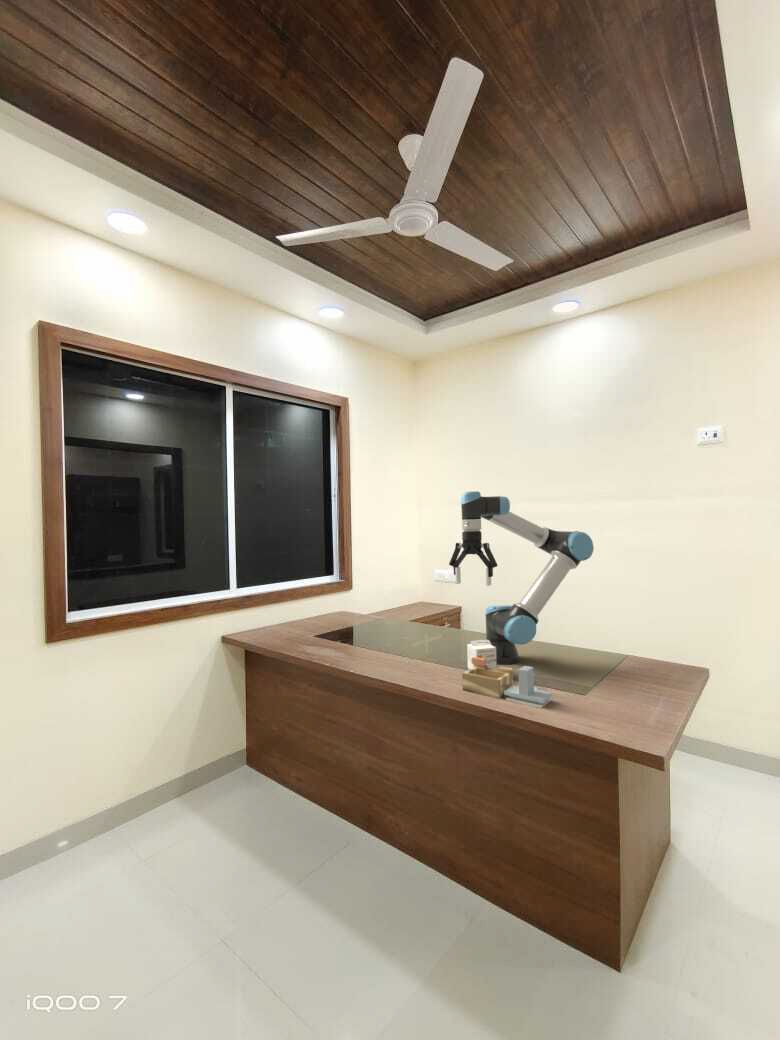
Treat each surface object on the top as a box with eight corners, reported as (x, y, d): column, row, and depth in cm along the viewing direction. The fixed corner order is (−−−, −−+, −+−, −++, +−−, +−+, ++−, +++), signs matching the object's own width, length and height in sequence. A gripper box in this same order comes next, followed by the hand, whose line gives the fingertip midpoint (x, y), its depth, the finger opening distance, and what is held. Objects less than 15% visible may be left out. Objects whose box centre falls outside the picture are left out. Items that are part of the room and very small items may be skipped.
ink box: (476, 680, 179) (475, 644, 179) (467, 673, 187) (466, 639, 187) (497, 678, 181) (496, 642, 181) (487, 671, 189) (486, 637, 189)
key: (474, 662, 177) (473, 656, 177) (486, 664, 173) (486, 658, 173) (471, 663, 175) (471, 657, 175) (483, 665, 172) (483, 660, 172)
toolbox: (477, 681, 177) (477, 662, 177) (513, 689, 168) (512, 668, 168) (462, 690, 169) (462, 669, 169) (499, 698, 160) (498, 676, 160)
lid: (515, 689, 166) (515, 660, 166) (554, 697, 158) (553, 666, 158) (504, 697, 159) (503, 666, 159) (543, 706, 150) (542, 674, 150)
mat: (516, 693, 164) (516, 691, 164) (550, 700, 157) (550, 698, 157) (506, 700, 158) (506, 698, 158) (541, 708, 151) (541, 706, 151)
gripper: (439, 531, 193) (441, 583, 193) (496, 530, 178) (497, 587, 177) (449, 530, 199) (451, 581, 199) (505, 530, 183) (506, 585, 183)
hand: (473, 584), depth 188 cm, fingers open, 13 cm apart
